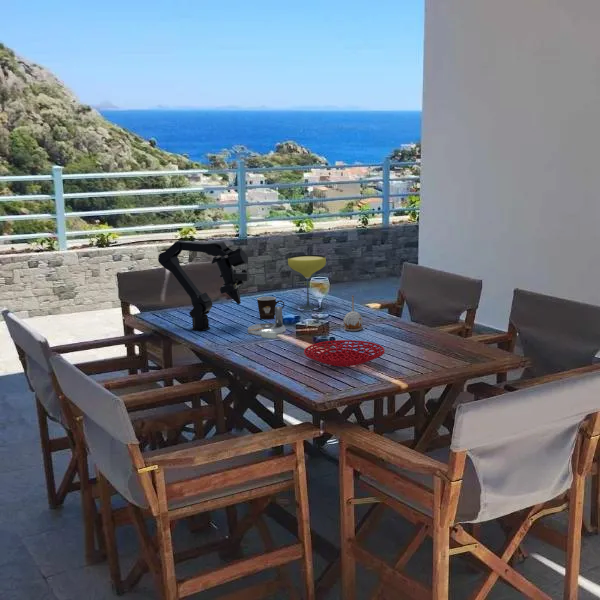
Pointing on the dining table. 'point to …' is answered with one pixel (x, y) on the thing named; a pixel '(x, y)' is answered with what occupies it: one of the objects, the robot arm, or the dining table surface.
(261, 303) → the coffee mug
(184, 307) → the dining table surface
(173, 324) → the dining table surface
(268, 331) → the base plate
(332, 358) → the bowl
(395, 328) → the dining table surface
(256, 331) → the turntable platter
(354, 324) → the decorative ornament
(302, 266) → the cocktail glass
